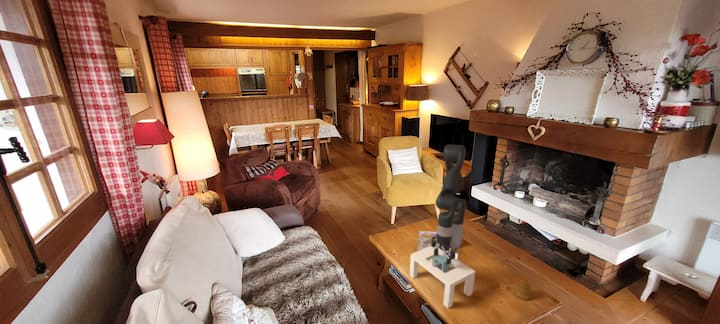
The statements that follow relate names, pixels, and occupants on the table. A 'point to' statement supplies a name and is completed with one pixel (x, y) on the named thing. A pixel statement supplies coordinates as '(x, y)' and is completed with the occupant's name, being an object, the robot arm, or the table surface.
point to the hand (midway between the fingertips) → (441, 259)
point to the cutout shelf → (447, 278)
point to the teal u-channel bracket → (443, 262)
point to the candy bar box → (425, 239)
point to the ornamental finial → (523, 290)
